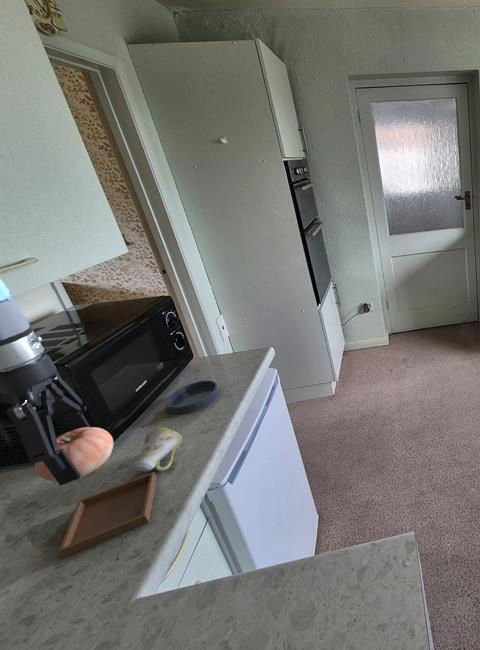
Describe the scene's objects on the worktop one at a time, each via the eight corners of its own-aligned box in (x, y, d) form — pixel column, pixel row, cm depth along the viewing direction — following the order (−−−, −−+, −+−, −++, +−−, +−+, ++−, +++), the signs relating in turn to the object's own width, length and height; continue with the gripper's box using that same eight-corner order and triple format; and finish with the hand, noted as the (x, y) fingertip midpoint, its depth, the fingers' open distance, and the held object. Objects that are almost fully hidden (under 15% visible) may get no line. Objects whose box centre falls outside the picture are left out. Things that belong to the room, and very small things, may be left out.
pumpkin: (54, 466, 75) (32, 435, 72) (122, 439, 80) (105, 409, 77) (42, 503, 67) (16, 469, 64) (119, 470, 72) (99, 438, 69)
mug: (128, 479, 88) (122, 435, 88) (171, 464, 97) (165, 424, 98) (151, 475, 85) (145, 431, 86) (192, 460, 95) (186, 420, 96)
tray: (63, 558, 71) (57, 551, 70) (83, 506, 81) (78, 500, 80) (148, 521, 76) (145, 515, 76) (157, 477, 87) (153, 471, 86)
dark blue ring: (167, 420, 106) (163, 413, 105) (171, 397, 117) (168, 390, 116) (220, 402, 112) (217, 395, 111) (219, 381, 122) (217, 375, 121)
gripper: (16, 387, 56) (88, 493, 65) (67, 330, 75) (117, 418, 84) (-57, 407, 53) (29, 515, 62) (15, 342, 71) (73, 432, 80)
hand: (80, 460), depth 73 cm, fingers closed on pumpkin, 11 cm apart
